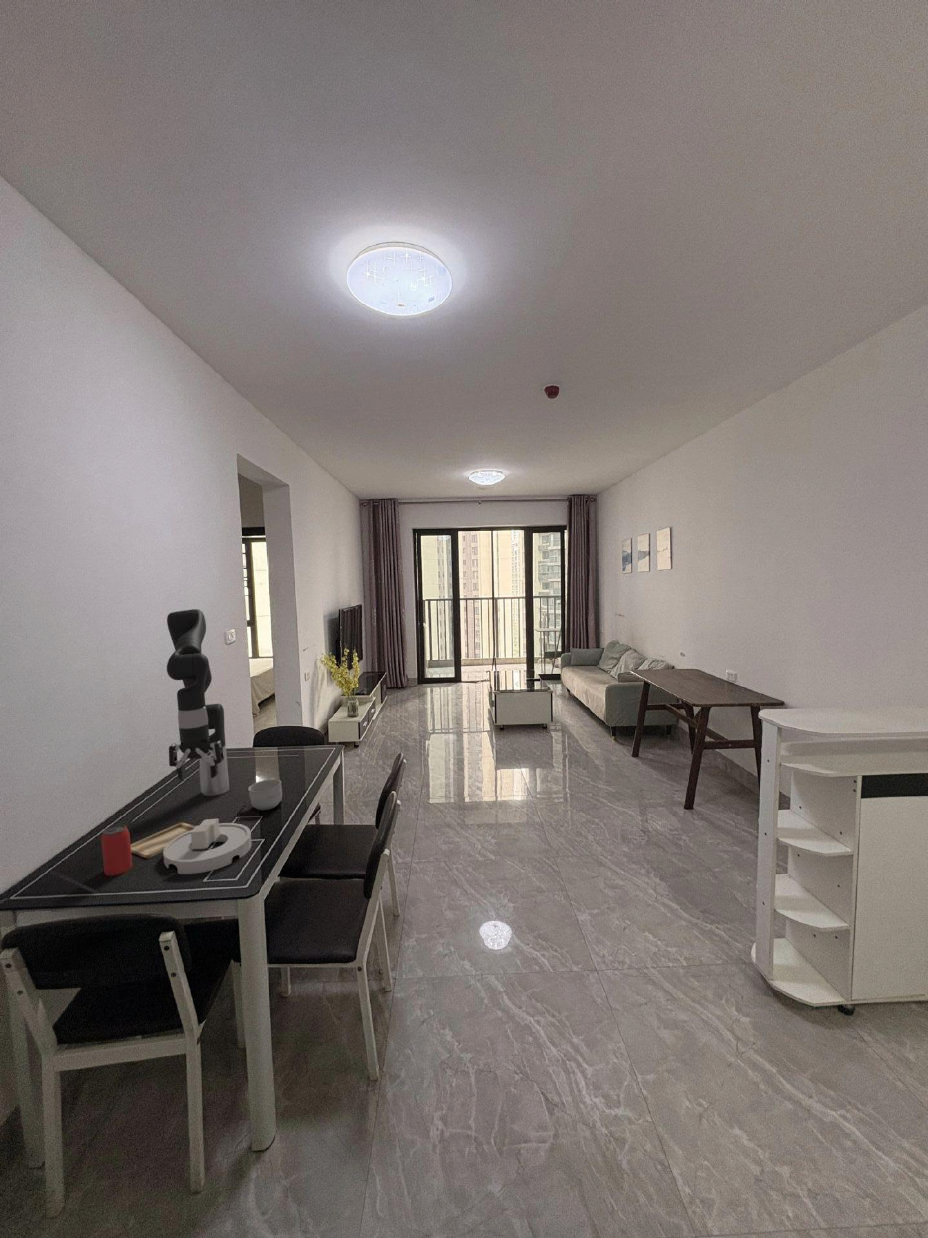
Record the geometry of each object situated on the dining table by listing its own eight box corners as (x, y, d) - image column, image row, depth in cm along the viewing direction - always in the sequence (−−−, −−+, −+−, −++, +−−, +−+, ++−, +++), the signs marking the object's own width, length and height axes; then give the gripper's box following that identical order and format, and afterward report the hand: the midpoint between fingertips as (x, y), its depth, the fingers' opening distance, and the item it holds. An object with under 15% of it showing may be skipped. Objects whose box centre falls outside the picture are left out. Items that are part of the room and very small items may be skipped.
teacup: (272, 814, 185) (270, 791, 184) (243, 812, 187) (241, 790, 186) (293, 797, 198) (291, 775, 198) (266, 796, 200) (264, 775, 200)
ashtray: (155, 883, 146) (154, 868, 145) (173, 843, 168) (172, 830, 167) (248, 866, 152) (247, 852, 152) (254, 830, 174) (253, 817, 174)
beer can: (113, 865, 155) (108, 824, 154) (137, 863, 155) (133, 822, 154) (99, 878, 148) (95, 835, 147) (125, 876, 149) (120, 833, 148)
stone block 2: (200, 842, 159) (199, 825, 159) (206, 836, 163) (204, 819, 163) (215, 841, 159) (213, 824, 159) (219, 834, 163) (218, 818, 163)
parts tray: (124, 851, 163) (124, 847, 163) (182, 826, 178) (181, 822, 178) (148, 860, 157) (147, 856, 157) (205, 833, 172) (204, 829, 172)
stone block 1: (192, 849, 155) (190, 832, 155) (197, 842, 159) (196, 826, 159) (206, 848, 155) (205, 831, 155) (212, 841, 159) (210, 824, 159)
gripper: (161, 729, 153) (166, 785, 154) (214, 725, 154) (219, 781, 155) (173, 721, 160) (178, 775, 162) (223, 718, 161) (228, 771, 163)
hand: (198, 778), depth 158 cm, fingers open, 8 cm apart
